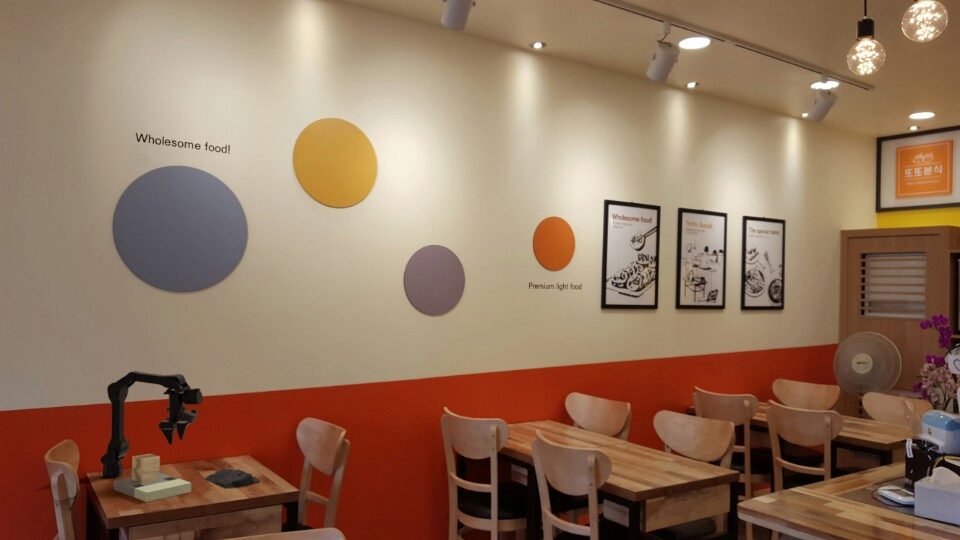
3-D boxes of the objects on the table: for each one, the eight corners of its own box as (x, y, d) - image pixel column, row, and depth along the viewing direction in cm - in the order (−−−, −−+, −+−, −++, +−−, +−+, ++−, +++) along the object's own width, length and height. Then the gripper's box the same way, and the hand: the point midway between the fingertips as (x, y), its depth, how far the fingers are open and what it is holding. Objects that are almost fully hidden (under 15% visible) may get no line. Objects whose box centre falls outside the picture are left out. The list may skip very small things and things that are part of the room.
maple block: (131, 479, 283) (132, 456, 283) (148, 475, 289) (149, 453, 289) (142, 482, 278) (142, 459, 278) (159, 479, 284) (159, 456, 284)
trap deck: (113, 489, 280) (114, 480, 280) (157, 480, 295) (157, 471, 295) (146, 502, 265) (146, 492, 265) (191, 491, 280) (191, 482, 280)
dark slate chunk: (235, 473, 310) (236, 462, 310) (262, 483, 295) (262, 472, 295) (202, 480, 298) (202, 468, 299) (228, 490, 284) (228, 478, 284)
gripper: (184, 408, 289) (184, 446, 289) (204, 401, 308) (204, 437, 308) (157, 408, 290) (157, 447, 290) (179, 401, 309) (179, 437, 308)
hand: (176, 442), depth 299 cm, fingers open, 9 cm apart
